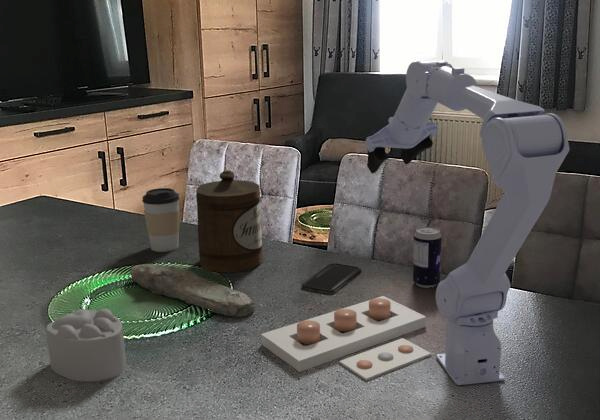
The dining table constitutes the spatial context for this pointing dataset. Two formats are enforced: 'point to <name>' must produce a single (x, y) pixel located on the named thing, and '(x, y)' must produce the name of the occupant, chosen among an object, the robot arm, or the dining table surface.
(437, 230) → the beverage can
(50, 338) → the lumpy-topped squat cylinder
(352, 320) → the button
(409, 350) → the pattern card
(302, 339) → the button
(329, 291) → the phone
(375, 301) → the button
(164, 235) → the coffee cup
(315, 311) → the dining table surface
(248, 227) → the wooden container
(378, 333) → the button board
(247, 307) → the long grey stone
